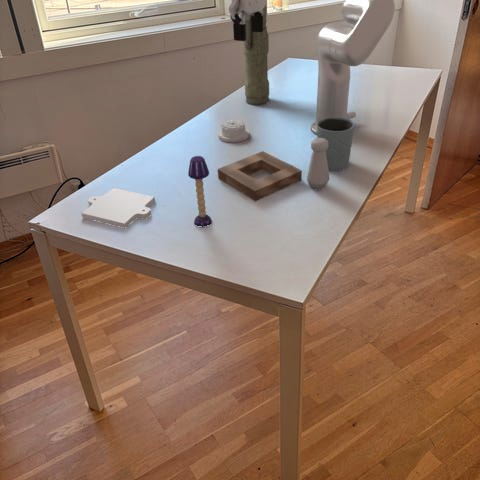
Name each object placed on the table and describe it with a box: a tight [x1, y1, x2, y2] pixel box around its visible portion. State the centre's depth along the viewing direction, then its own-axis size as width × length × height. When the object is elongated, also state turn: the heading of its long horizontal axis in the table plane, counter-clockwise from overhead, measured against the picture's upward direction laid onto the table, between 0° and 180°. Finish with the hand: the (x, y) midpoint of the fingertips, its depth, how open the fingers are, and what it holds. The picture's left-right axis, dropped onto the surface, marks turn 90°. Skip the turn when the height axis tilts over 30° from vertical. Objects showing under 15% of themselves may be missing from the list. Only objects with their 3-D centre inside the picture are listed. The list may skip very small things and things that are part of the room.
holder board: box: [217, 150, 303, 202], centre depth 129 cm, size 16×16×3 cm
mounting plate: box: [81, 187, 156, 229], centre depth 120 cm, size 18×13×2 cm
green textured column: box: [242, 3, 270, 106], centre depth 168 cm, size 9×12×35 cm
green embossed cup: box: [316, 117, 356, 172], centre depth 131 cm, size 10×10×12 cm
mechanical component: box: [217, 119, 250, 143], centre depth 153 cm, size 10×4×10 cm
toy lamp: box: [187, 155, 213, 228], centre depth 109 cm, size 5×5×17 cm
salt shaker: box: [306, 137, 330, 191], centre depth 122 cm, size 6×6×13 cm
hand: (248, 36), depth 125 cm, fingers open, 9 cm apart
